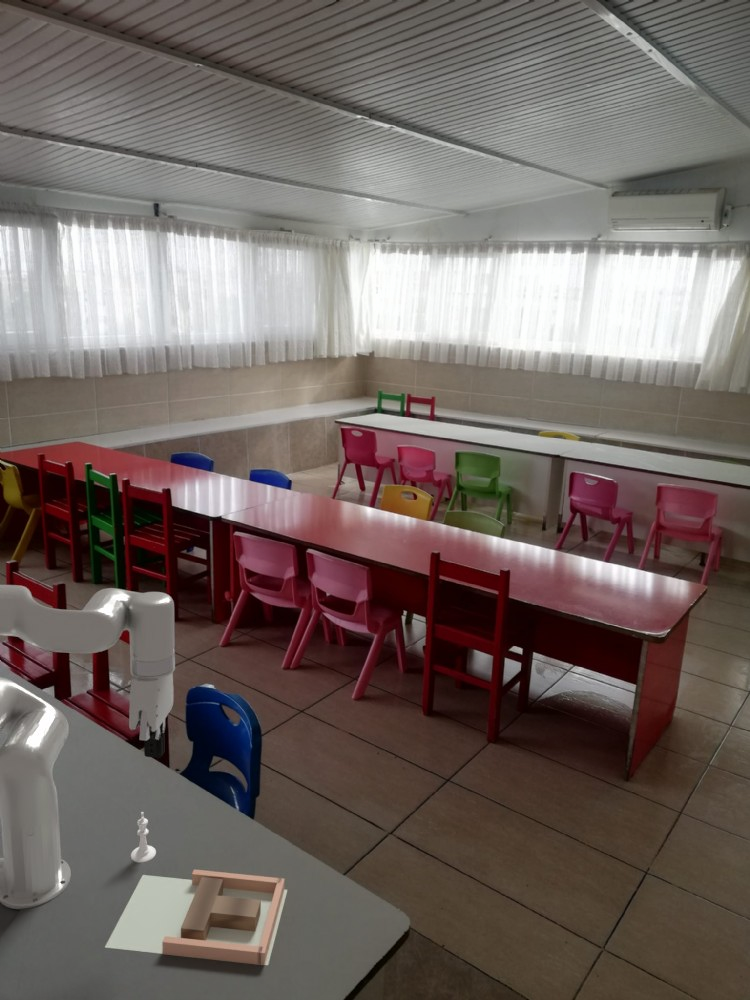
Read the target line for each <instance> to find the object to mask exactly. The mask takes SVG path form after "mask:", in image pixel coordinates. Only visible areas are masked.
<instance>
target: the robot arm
mask: <svg viewBox="0 0 750 1000" xmlns="http://www.w3.org/2000/svg"><path fill="white" fill-rule="evenodd" d="M125 631H128V632H129V656H130V659H129V661H130V665H129V666H130V675H132V678H131V684H130V690H129V691H130V694H129V711H128V713H129V714H128V716H129V718H128V719H129V720H128V721H129V722H128V724H129V726H128V727H129V729H130V730H131V731H133V730H136V729H137V727H138V726H139V725H140V726H139V741H143V743H144V744H143V748H144V749H143V750H144V753H143V754H144V756H145V757H147V758H156V759H158V758H159V759H161V758H162V757H163V755H164V753H165V750H166V747H165V745H166V742H165V740H166V739H165V730H166V718H167V717H168V715H169V713H170V712H171V711H172V708H173V705H174V697H175V696H174V695H175V694H174V693H175V692H174V675H173V674H174V671H175V670H176V657H175V656H176V651H175V649H176V648H175V647H176V646H175V643H176V641H175V640H176V639H175V602H174V600H173V598H172V596H170V595H169V594H167V593H165V592H162V591H161V592H160V591H147V592H139V591H134V590H133V591H131V590H126V589H122V588H117V587H116V588H114V587H109V588H102V589H100V590H98V591H97V592H96V593H94V595H92V596H91V598H90V599H89V601H88V602H87V603H86V604H85V606H84V607H83V608H82V610H80V609H77V610H76V609H60V608H53V607H48V606H45V605H43V604H40V603H38V602H37V601H36V600H35V599H34V598H33V595H32V592H31V591H30V589H29V588H27V586H23V585H17V584H0V636H7V637H18V638H19V639H21V640H22V641H23V642H25V643H26V644H27V643H28V644H30V645H32V646H35V647H37V648H40V649H43V650H45V651H50V652H54V653H66V654H67V653H69V654H70V653H71V654H95V653H99V652H100V653H101V652H103V651H106V650H108V649H110V648H112V647H113V646H115V644H116V643H117V642H118V640H119V639H120V637H122V634H123V632H125ZM69 731H70V726H69V723H68V720H67V718H66V716H65V714H63V712H61V711H60V710H59V709H58V708H56V706H54V705H52V704H51V703H49V702H48V701H46V700H44V699H43V698H41V697H40V696H37V695H36V694H34V693H33V692H31V690H28V689H26V688H25V687H23V686H21V685H20V684H18V683H17V682H15V681H13V680H11V679H9V678H6V677H3V676H0V733H1V732H3V733H4V734H5V735H7V736H6V737H5V738H4V739H3V741H2V743H1V744H0V827H1V837H2V851H3V857H0V903H1V905H3V906H4V907H6V908H9V909H13V910H22V909H28V908H34V907H38V906H40V905H41V906H42V905H43V904H46V903H48V902H49V901H50V902H51V901H52V900H53V899H55V898H56V897H58V896H59V895H60V894H61V893H62V892H63V891H64V890H65V889H66V888H67V886H68V885H69V883H70V880H71V878H72V877H71V872H72V871H71V867H70V865H69V864H68V862H67V861H66V860H64V859H63V858H62V854H61V853H62V851H61V837H60V836H61V835H60V819H59V817H60V815H59V803H58V802H59V801H58V792H57V791H58V790H57V787H56V784H55V781H54V778H53V769H54V766H55V764H56V763H55V762H56V761H57V759H58V757H59V755H60V752H61V750H62V748H63V747H64V745H65V744H66V741H67V738H68V737H69Z"/></svg>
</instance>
